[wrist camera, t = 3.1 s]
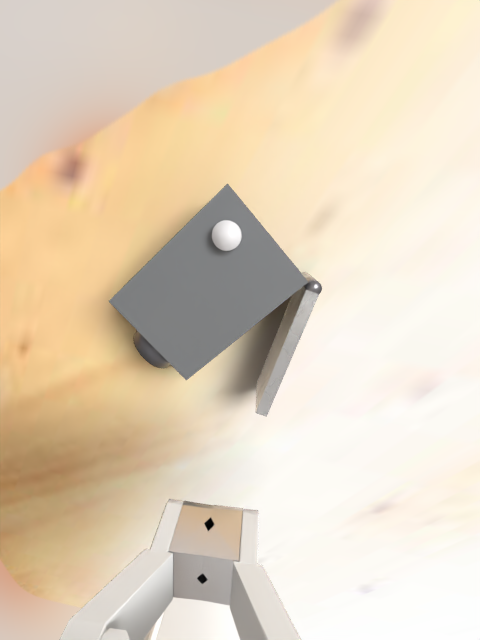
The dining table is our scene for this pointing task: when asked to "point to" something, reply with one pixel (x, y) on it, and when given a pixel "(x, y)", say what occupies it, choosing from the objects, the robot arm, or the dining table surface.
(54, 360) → the dining table surface
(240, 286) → the camera body
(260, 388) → the side door
